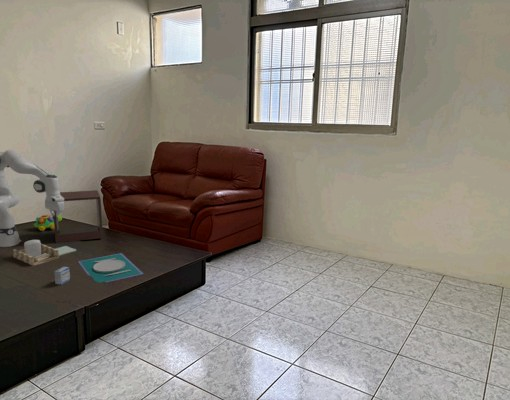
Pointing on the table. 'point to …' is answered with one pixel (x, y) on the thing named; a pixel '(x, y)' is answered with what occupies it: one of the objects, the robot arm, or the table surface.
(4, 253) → the table surface
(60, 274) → the medicine box
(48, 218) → the turtle toy
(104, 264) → the place mat
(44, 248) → the frame
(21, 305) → the table surface
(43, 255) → the birch offcut
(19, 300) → the table surface
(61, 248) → the sage board
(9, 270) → the table surface
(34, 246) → the photo printer
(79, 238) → the storage cube
